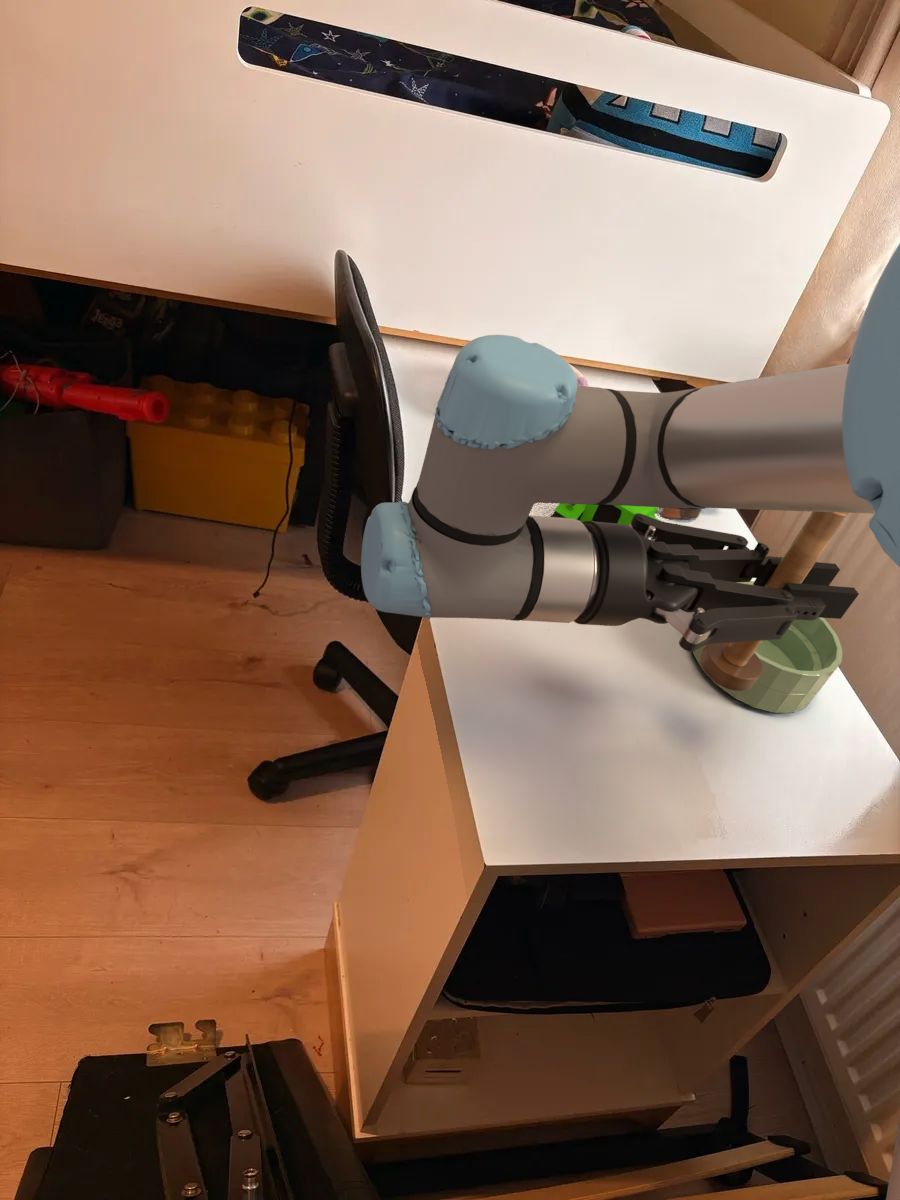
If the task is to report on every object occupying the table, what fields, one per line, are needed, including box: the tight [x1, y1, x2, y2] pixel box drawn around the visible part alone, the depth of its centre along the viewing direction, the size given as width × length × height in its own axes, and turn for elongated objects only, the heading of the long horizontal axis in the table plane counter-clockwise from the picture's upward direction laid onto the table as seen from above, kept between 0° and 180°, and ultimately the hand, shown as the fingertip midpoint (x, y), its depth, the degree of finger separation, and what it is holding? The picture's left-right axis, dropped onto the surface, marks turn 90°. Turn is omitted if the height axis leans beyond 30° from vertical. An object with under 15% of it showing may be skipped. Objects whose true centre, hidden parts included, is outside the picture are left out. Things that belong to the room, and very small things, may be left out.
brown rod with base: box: [699, 511, 850, 691], centre depth 71 cm, size 5×5×18 cm
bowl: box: [692, 580, 844, 714], centre depth 90 cm, size 13×13×6 cm
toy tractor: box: [549, 503, 664, 526], centre depth 96 cm, size 11×16×10 cm
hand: (837, 591), depth 73 cm, fingers closed on brown rod with base, 2 cm apart
